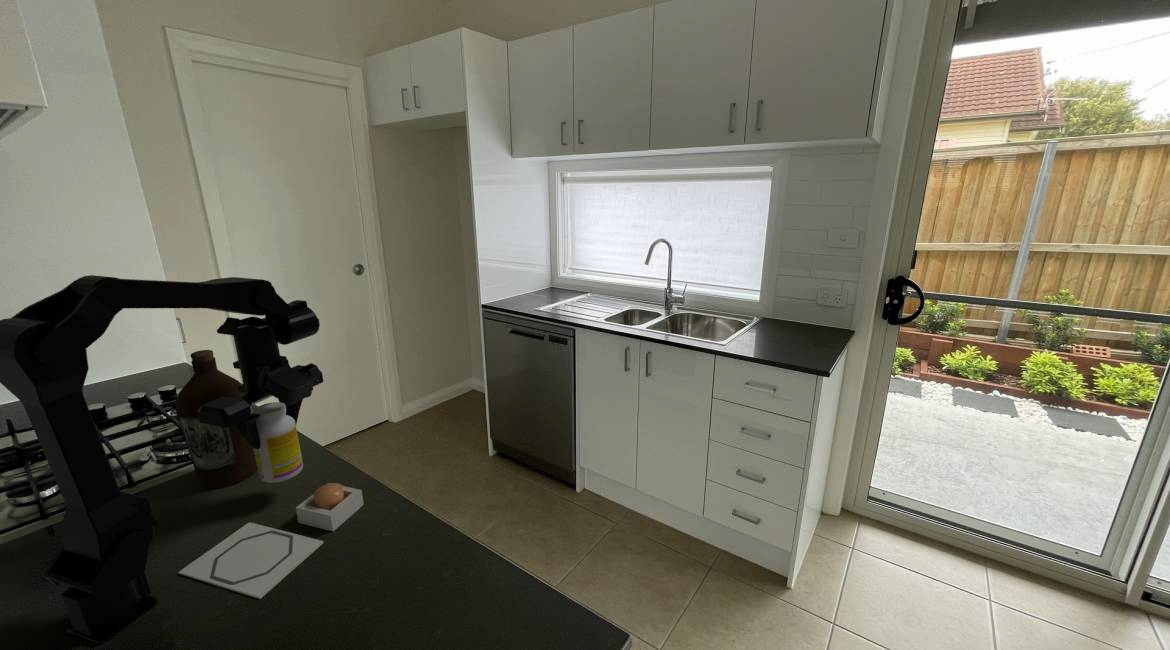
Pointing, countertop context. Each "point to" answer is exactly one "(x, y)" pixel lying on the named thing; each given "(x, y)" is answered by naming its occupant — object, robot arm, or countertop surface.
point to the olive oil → (213, 427)
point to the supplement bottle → (277, 444)
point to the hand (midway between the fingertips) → (275, 438)
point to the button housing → (330, 518)
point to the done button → (328, 496)
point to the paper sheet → (252, 559)
